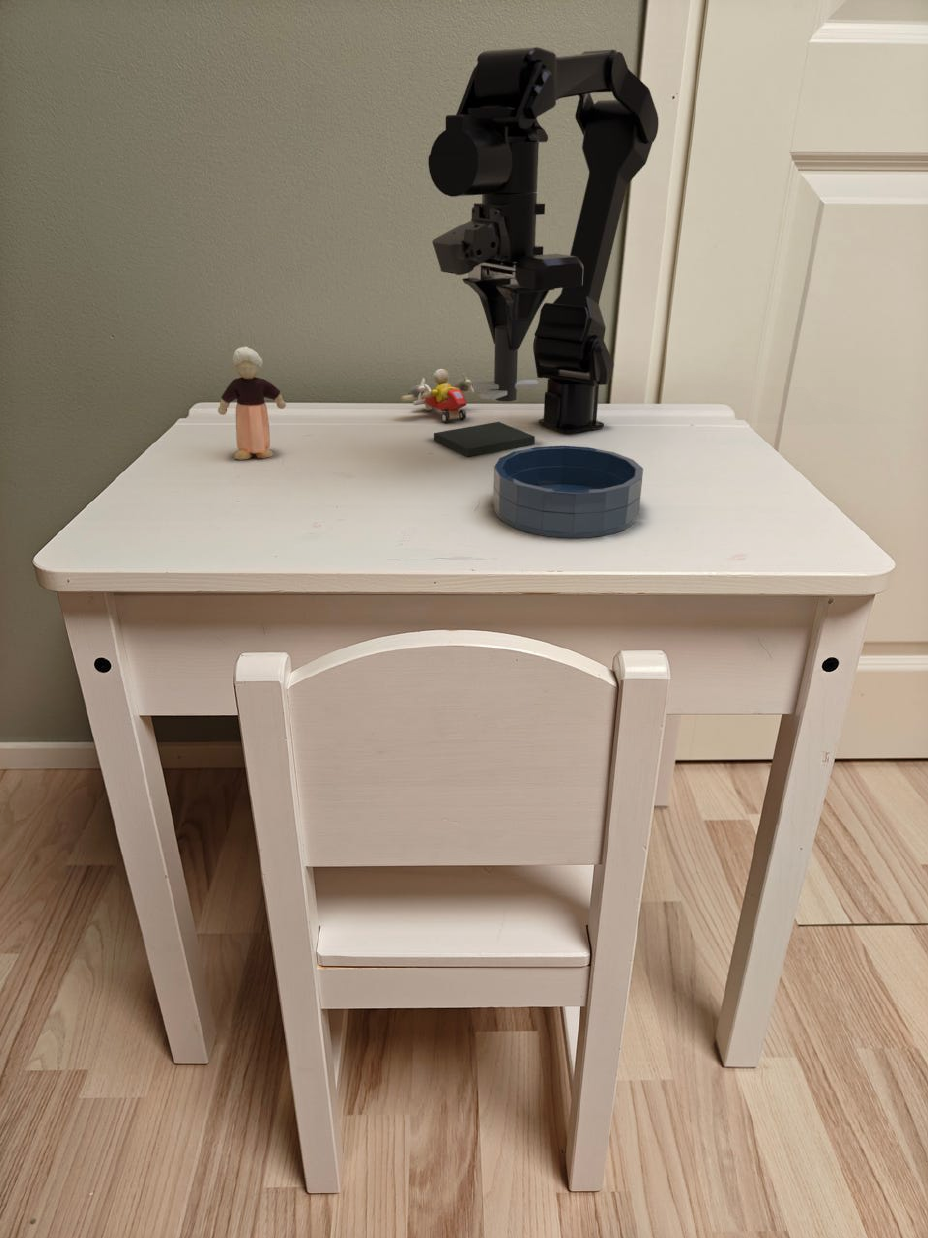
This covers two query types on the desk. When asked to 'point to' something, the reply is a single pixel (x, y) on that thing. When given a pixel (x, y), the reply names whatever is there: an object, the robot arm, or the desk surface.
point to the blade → (504, 371)
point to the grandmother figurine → (250, 405)
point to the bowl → (567, 491)
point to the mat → (483, 438)
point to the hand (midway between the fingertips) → (506, 347)
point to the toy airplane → (442, 395)
